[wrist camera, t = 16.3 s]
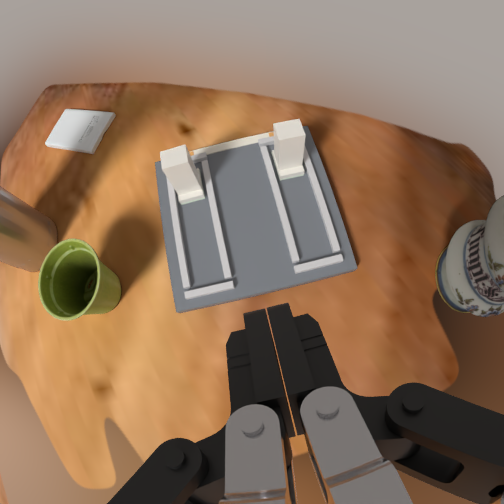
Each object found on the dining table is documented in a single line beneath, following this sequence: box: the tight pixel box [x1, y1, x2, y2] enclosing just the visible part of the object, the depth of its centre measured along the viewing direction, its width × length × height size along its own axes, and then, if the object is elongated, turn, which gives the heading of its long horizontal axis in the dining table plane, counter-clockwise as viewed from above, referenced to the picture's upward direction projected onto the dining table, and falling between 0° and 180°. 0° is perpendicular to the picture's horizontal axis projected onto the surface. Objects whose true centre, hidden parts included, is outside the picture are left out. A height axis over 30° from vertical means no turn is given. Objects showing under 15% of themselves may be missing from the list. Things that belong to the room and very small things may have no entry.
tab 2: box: [272, 119, 306, 179], centre depth 38 cm, size 3×4×8 cm
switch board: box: [155, 126, 357, 313], centre depth 41 cm, size 22×21×2 cm
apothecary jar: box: [435, 196, 504, 317], centre depth 29 cm, size 12×12×18 cm
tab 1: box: [160, 145, 204, 204], centre depth 38 cm, size 3×4×8 cm
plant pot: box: [38, 239, 121, 320], centre depth 36 cm, size 9×9×9 cm
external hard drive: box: [45, 109, 116, 154], centre depth 48 cm, size 2×8×12 cm
